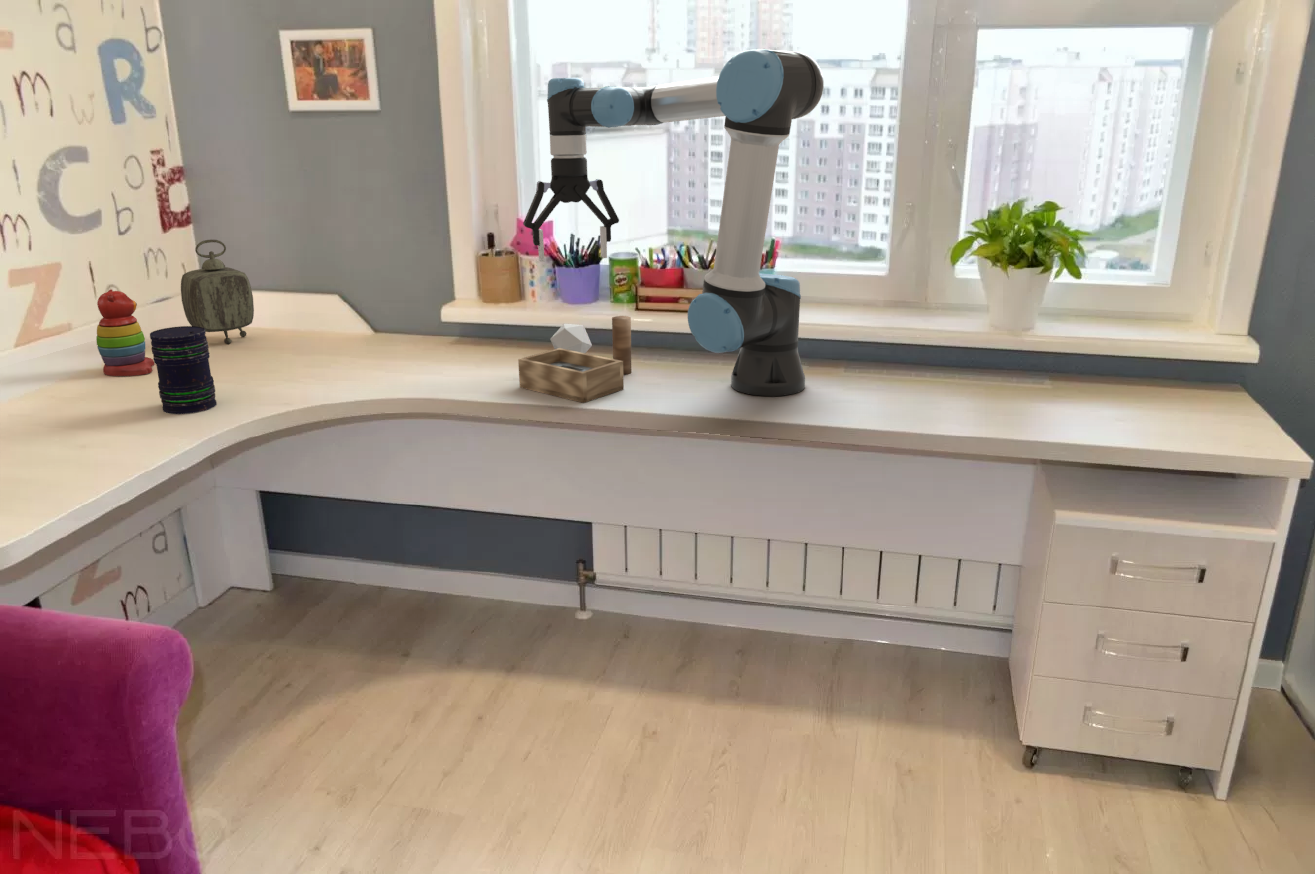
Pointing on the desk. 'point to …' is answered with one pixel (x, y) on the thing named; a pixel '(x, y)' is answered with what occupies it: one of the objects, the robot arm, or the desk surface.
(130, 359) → the bird stacking toy
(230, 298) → the tabletop clock
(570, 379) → the box
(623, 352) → the peg
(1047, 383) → the desk surface
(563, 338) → the die
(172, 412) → the storage jar
